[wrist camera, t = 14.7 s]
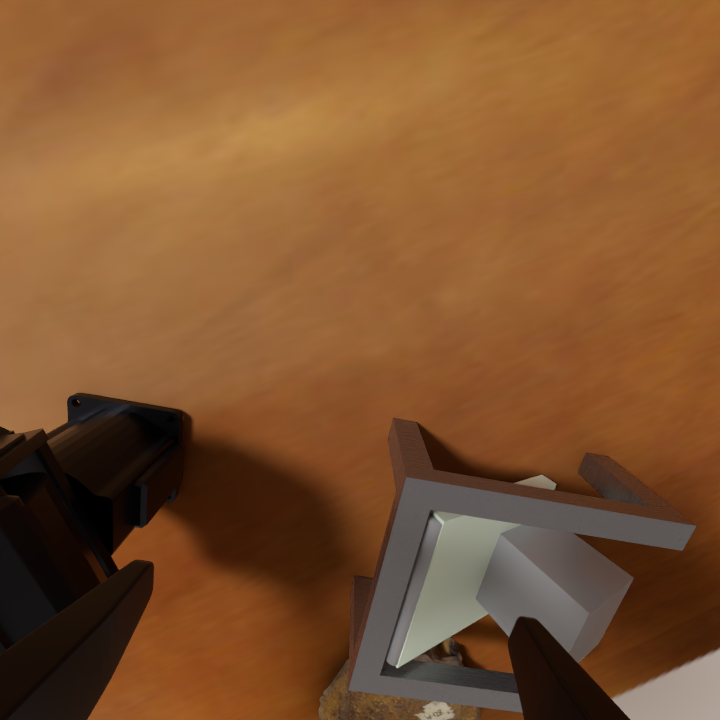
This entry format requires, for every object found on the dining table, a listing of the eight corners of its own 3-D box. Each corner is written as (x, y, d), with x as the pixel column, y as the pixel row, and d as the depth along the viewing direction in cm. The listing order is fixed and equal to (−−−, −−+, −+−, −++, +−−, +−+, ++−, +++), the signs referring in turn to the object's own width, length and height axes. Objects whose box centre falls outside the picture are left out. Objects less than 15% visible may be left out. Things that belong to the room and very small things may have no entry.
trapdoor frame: (350, 591, 25) (348, 690, 19) (393, 418, 21) (406, 477, 15) (534, 618, 26) (585, 720, 20) (608, 456, 22) (696, 525, 16)
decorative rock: (412, 751, 31) (490, 635, 28) (423, 821, 28) (515, 695, 24) (293, 729, 30) (362, 601, 26) (287, 801, 26) (367, 661, 22)
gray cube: (475, 598, 21) (551, 686, 17) (500, 533, 20) (589, 613, 16) (522, 572, 24) (598, 643, 20) (547, 513, 23) (634, 577, 19)
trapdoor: (380, 653, 20) (390, 672, 19) (423, 509, 17) (437, 524, 16) (495, 590, 25) (507, 602, 24) (542, 474, 22) (556, 484, 22)
